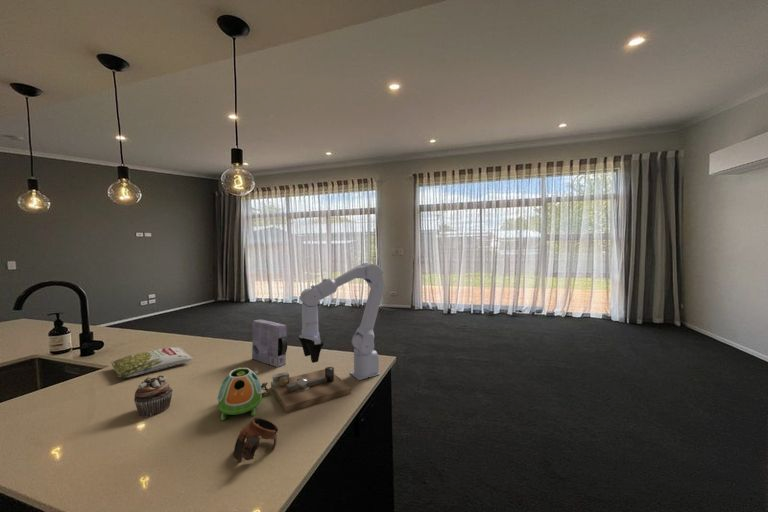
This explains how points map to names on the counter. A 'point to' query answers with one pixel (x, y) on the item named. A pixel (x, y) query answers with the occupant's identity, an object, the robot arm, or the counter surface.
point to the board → (307, 390)
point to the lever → (311, 381)
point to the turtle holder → (239, 393)
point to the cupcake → (153, 396)
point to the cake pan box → (269, 342)
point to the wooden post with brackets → (264, 389)
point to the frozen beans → (150, 361)
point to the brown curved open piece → (253, 438)
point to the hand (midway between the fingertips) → (311, 358)
